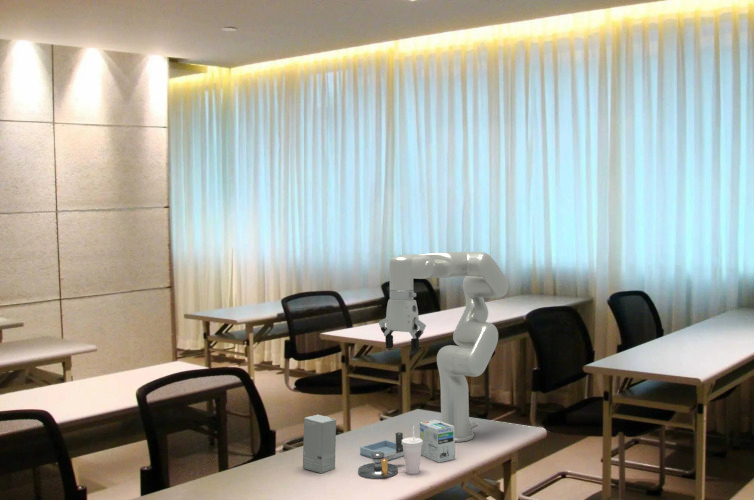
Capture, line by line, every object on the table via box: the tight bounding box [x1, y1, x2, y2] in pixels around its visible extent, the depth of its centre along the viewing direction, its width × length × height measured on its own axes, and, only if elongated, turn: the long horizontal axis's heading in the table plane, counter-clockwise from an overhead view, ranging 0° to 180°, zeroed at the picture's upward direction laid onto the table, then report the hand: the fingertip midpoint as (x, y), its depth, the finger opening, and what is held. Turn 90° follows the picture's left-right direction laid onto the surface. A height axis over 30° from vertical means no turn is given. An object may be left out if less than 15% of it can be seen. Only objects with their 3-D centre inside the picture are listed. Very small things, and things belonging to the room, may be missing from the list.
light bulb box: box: [419, 419, 456, 463], centre depth 255 cm, size 11×7×11 cm, turn 31°
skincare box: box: [302, 414, 337, 474], centre depth 247 cm, size 8×7×16 cm
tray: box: [359, 439, 404, 462], centre depth 260 cm, size 11×11×2 cm
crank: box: [370, 431, 404, 463], centre depth 245 cm, size 12×4×7 cm, turn 131°
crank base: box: [357, 459, 399, 480], centre depth 242 cm, size 12×12×6 cm
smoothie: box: [402, 425, 423, 475], centre depth 241 cm, size 6×6×14 cm
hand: (402, 349), depth 256 cm, fingers open, 9 cm apart
